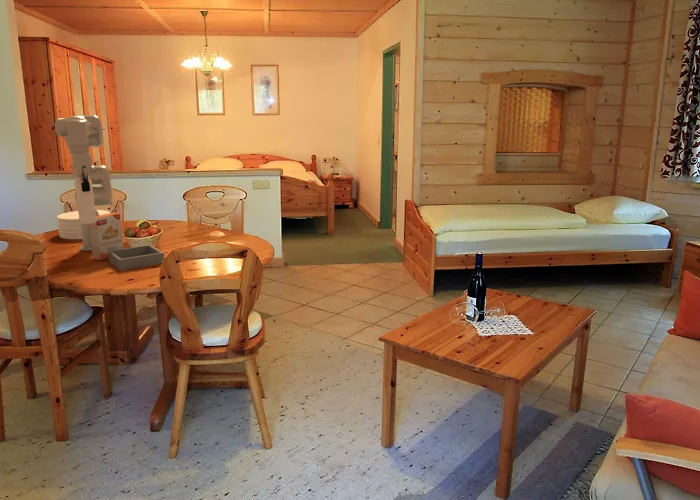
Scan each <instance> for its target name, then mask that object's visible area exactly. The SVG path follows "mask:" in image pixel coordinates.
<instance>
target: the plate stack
mask: <svg viewBox="0 0 700 500" xmlns="http://www.w3.org/2000/svg"><path fill="white" fill-rule="evenodd" d="M96 210H97V212H98V213H99V215H104V214H109V213H111V211H109V210H106V209H105V210H104V209H96ZM56 219H57V224H58V225H57V227H58V233H59V238H61V239H66V240H82V234H81V226H80V222H79V213H78V210H76V211H75V210H74V211H68V212H63V213H61V214H58V215H57V216H56Z"/></svg>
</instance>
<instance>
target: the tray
mask: <svg viewBox="0 0 700 500" xmlns="http://www.w3.org/2000/svg"><path fill="white" fill-rule="evenodd" d="M108 256H109V258H108V261H109V263H111V264H112V265H113V266H115V267H116V268H117V269H118V270H119V271H125V270H132V269H136V268H137V269H138V268H144V267H149V266H157V265H161V263H162V261H163V260H164V261H165V254H164V252H163V251H161V250H160V249H158V248H156V247H155V246H153V245H151V244H146V245H138V246H133V247H125V248H124V247H123V249H117V250H111V251H108ZM162 264H163V263H162Z"/></svg>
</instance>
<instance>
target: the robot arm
mask: <svg viewBox="0 0 700 500" xmlns="http://www.w3.org/2000/svg"><path fill="white" fill-rule="evenodd" d="M54 130H55V133H56V135H57V136H58V137H59V138H60V137H61V138H64V142H65V144H66V147H67V149H68V151H69V154H70V155H71V163H72V172H73V175H74V176H75V179H76V178H77V176H78V177H79V175H80V176H81V180H82V183H81V186H82V191H83V192H88V191H90V184H89V179H90V180H91V181H92V189H93V195H94V207H98V206H99V207H101V206H110V205H111V204H112V203H113V190H112V183H111V175H110V171H109V168H108V167H107V166H106V165H93V158H92V155H91V153H90V150H89V148H101V147H102V146H103V144H104V134H103V127H102V122H101V119H100V118H99V116H97V115H95V114H76V115H73V116H69V117H62V118H61V117H60V118H57V119H56V120H55V122H54ZM82 170H83V171H82ZM88 177H89V179H88ZM93 185H100V186H93ZM74 199H75V203H76V207H77V208H78V204H77V199H76V191H75V192H74ZM97 210H98V209H95V211H96V212H95V214H96V216H98V215H99V213H98V212H97ZM80 226H81V234H82V239H81V240H82V245H81V246H79V250H81V251H83V252H84V251H85V252H92V244H91V235H90V226H89V224H81V223H80Z"/></svg>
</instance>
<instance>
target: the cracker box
mask: <svg viewBox="0 0 700 500" xmlns="http://www.w3.org/2000/svg"><path fill="white" fill-rule="evenodd" d="M96 219H97V221H96V222H95V223H93V224H89V226H90V235H91V244H92V251H91V252H92V259H93V260H97V261H103V260H107V259H108V260H109V256H108V251H111V250H117V249H124V244H123V234H122V233H123V232H122V222H121V213H119V212H118V213H117V212H110V213H109V214H104V215H98V216H96Z"/></svg>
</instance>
